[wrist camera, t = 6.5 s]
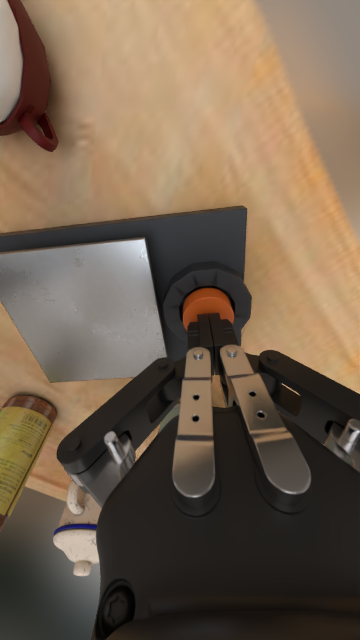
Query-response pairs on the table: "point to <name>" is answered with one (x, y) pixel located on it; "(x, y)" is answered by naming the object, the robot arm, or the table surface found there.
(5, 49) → the cocoa
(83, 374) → the weighing plate
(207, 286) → the scale
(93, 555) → the teacup with lid
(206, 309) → the power button
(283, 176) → the table surface
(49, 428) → the sauce bottle
